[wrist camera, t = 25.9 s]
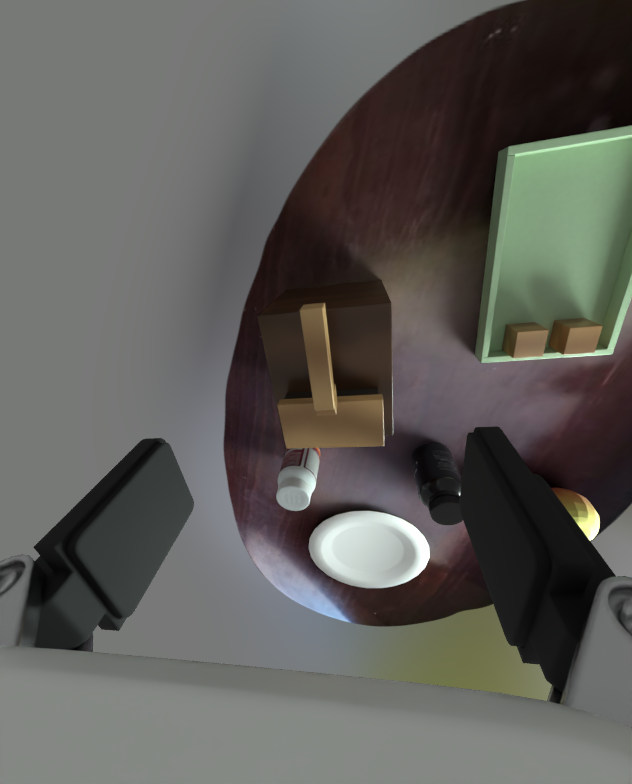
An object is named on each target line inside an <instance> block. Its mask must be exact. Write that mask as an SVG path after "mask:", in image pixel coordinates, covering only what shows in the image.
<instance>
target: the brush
mask: <svg viewBox="0 0 632 784" xmlns="http://www.w3.org/2000/svg"><path fill="white" fill-rule="evenodd" d="M300 316H301V323H302V330H303V336H304V343H305V350H306V357H307V363H308V370H309V377H310V384H311V390H312V392H295V393H287V394H286V396H285V399H280V400H279V402H278V405H277V406H278V411H279V416H280V420H281V425H282V430H283V435H284V439H285V444H286V448H287V449H290V448H328V447H367V446H384V412H383V396H382V394H379V390H378V388H366V389H348V390H336V384H334V380H333V371H332V362H331V353H330V344H329V335H328V326H327V317H326V308H325V303H316V304H306V305H303V306H302V308H301V309H300Z"/></svg>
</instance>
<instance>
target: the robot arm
mask: <svg viewBox="0 0 632 784" xmlns="http://www.w3.org/2000/svg"><path fill="white" fill-rule="evenodd" d="M459 505H460V511H461V515H462V517H463V520H464V523H465V526H466V529H467V531H468V534H469V537H470V540H471V542H472V545H473V548H474V551H475V554H476V556H477V559H478V562H479V565H480V568H481V570H482V573H483V576H484V579H485V581H486V584H487V587H488V590H489V593H490V595H491V598H492V601H493V604H494V606H495V609H496V612H497V615H498V617H499V620H500V623H501V626H502V629H503V632H504V634H505V637H506V639H507V641H508V643H509V644H510V645H511V646H517V648H518V650H519V653H520V656H521V659H522V661H523V663H530V664H540V666H541V669H542V671H543V674H544V676H545V678H546V680H547V681H548V682H549V683H551V684H552V687H551V691H550V693H549V696H548V700H547V701H543V700H538V699H531V698H526V697H520V696H514V695H509V694H503V693H496V692H488V691H480V690H471V689H463V688H454V687H446V686H438V685H430V684H421V683H413V682H403V681H393V680H383V679H373V678H363V677H353V676H342V675H333V674H322V673H313V672H302V671H293V670H283V669H271V668H261V667H250V666H240V665H230V664H219V663H207V662H197V661H186V660H176V659H164V658H155V657H154V658H153V657H143V656H131V655H120V654H108V653H97V652H93V631H94V629H95V628H96V626H97V625H99V627H100V628H101V629H104V630H116V631H117V630H118V631H119V630H120V628H121V627H122V625H123V623H124V621H125V620H126V618H127V617H129V616H130V615H131V614H132V613H133V612H134V611H135V609H136V607H137V605H138V604H139V602H140V600H141V599H142V597H143V595H144V593H145V591H146V590H147V588H148V586H149V585H150V583H151V581H152V579H153V578H154V576H155V574H156V573H157V571H158V569H159V567H160V566H161V564H162V562H163V560H164V559H165V557H166V556H167V554H168V552H169V550H170V548H171V547H172V545H173V543H174V542H175V540H176V538H177V537H178V535H179V533H180V531H181V530H182V528H183V526H184V525H185V523H186V521H187V519H188V517H189V516H190V514H191V512H192V510H193V507H194V501H193V498H192V496H191V494H190V491H189V489H188V487H187V484H186V482H185V480H184V477H183V475H182V472H181V470H180V468H179V465H178V463H177V460H176V458H175V456H174V453H173V451H172V449H171V447H170V445H169V444H168V443H166V442H165V440H163V439H161V438H154V439H143V440H142V441H140V442H139V443H138V444H137V445H136V446H135V447H134V448H133V449H132V450H131V451H130V452H129V453H128V454H127V455H126V456H125V457H124V458H123V459H122V460H121V461H120V462H119V463H118V464H117V465H116V466H115V467H114V468H113V469H112V470H111V471H110V472H109V473H108V474H107V475H106V476H105V477H104V478H103V479H102V480H101V481H100V482H99V483H98V484H97V485H96V486H95V487H94V488H93V489H92V490H91V491H90V492H89V493H88V494H87V495H86V496H85V497H84V498H83V499H82V500H81V501H80V502H79V503H78V504H77V505H76V506H75V507H74V508H73V509H72V510H71V511H70V512H69V513H68V514H67V515H66V516H65V517H64V518H63V519H62V520H61V521H60V522H59V523H58V524H57V525H56V526H55V527H53V528H52V529H51V530H50V531H49V532H48V534H47V535H45V536H44V537H43V538H42V539H41V540H40V541H39V542H38V543H37V544H36V545H35V546H34V548H35V550H36V551H37V552H38V553H39V554H40V557H39V558H38V559H37V560H36V561H34V560H33V559H32V558H31V557H30V556H29V555H23V554H22V555H17V556H12V557H10V558H7V559H4V560H2V561H0V784H632V578H631V577H626V576H618V577H616V576H615V574H614V573H613V572H612V570H611V569H610V568H609V566H608V565H607V564H606V562H605V561H604V559H603V558H602V557H601V555H600V554H599V553H598V551H597V550H596V549H595V547H594V546H593V545H592V543H591V542H590V540H589V539H588V538H587V536H586V535H585V534H584V532H583V531H582V530H581V528H580V527H579V526H578V524H577V523H576V521H575V520H574V519H573V517H572V516H571V515H570V513H569V512H568V511H567V509H566V508H565V507H564V505H563V504H562V502H561V501H560V500H559V498H558V497H557V496H556V494H555V493H554V492H553V490H552V489H551V488H550V486H549V485H548V483H547V482H546V481H545V480H544V479H543V478H542V477H541V476H540V475H538V474H532V472H531V471H530V470H529V468H528V467H527V465H526V464H525V463H524V461H523V460H522V458H521V457H520V455H519V454H518V453H517V451H516V450H515V448H514V447H513V446H512V444H511V443H510V441H509V440H508V438H507V437H506V436H505V434H504V433H503V431H502V430H501V429H500V428H499V427H476V428H475V430H474V433H468V435H467V441H466V449H465V458H464V466H463V474H462V483H461V491H460V500H459Z"/></svg>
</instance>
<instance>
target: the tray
mask: <svg viewBox="0 0 632 784" xmlns="http://www.w3.org/2000/svg"><path fill="white" fill-rule="evenodd" d="M631 296H632V125H631V126H625V127H619V128H613V129H607V130H601V131H595V132H590V133H584V134H578V135H572V136H566V137H560V138H554V139H548V140H543V141H537V142H531V143H525V144H519V145H513V146H509V147H507V148H505V149H503V150H501V151H499V152H498V160H497V169H496V178H495V186H494V195H493V203H492V212H491V221H490V229H489V238H488V246H487V255H486V264H485V272H484V281H483V289H482V298H481V307H480V315H479V324H478V332H477V341H476V350H475V357H476V358H477V359H478V360H479V361H480V362H481V363H487V362H502V361H517V360H532V359H547V358H562V357H577V356H592V355H608V354H612V353H613V350H614V348H615V345H616V342H617V339H618V336H619V333H620V330H621V327H622V324H623V321H624V318H625V315H626V312H627V309H628V306H629V303H630V299H631ZM576 318H586V319H588V320H591V321H593V322H596V323H598V324H601V325H603V327H602V330H601V333H600V336H599V340H598V343H597V346H596V350H595V353H585V354H571V355H562V354H561V353H559V352H558V351H556V350H555V349H553V348H551V347H550V346H549V341H550V336H551V332H552V328H553V323H554V320H564V319H576ZM528 322H535V323H537V324H539V325H541V326H543V327H545V328H546V329H548V330H549V331H548V336H547V340H546V345H545V349H544V354H543V356H541V357H527V358H512V357H511V356H510V355H508V354H507V353H506V352H505V351H504V350H503V349H502V346H503V340H504V333H505V327H506V324H516V323H528Z"/></svg>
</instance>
